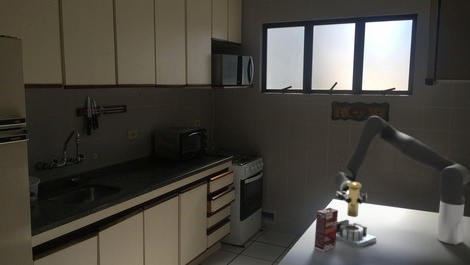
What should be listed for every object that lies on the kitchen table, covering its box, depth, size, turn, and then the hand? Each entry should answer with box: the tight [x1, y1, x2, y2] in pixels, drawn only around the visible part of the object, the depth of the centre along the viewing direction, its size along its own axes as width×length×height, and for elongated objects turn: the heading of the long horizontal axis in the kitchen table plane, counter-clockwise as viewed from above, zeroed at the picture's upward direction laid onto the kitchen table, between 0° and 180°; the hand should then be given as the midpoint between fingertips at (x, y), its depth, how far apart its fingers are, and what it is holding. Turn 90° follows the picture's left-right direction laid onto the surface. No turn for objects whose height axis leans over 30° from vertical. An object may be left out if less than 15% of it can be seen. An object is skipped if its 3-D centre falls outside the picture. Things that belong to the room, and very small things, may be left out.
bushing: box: [347, 181, 362, 218], centre depth 174 cm, size 6×6×14 cm
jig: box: [336, 219, 377, 249], centre depth 176 cm, size 16×13×5 cm
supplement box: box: [313, 207, 339, 253], centre depth 165 cm, size 9×5×16 cm, turn 131°
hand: (354, 201), depth 172 cm, fingers closed on bushing, 4 cm apart
